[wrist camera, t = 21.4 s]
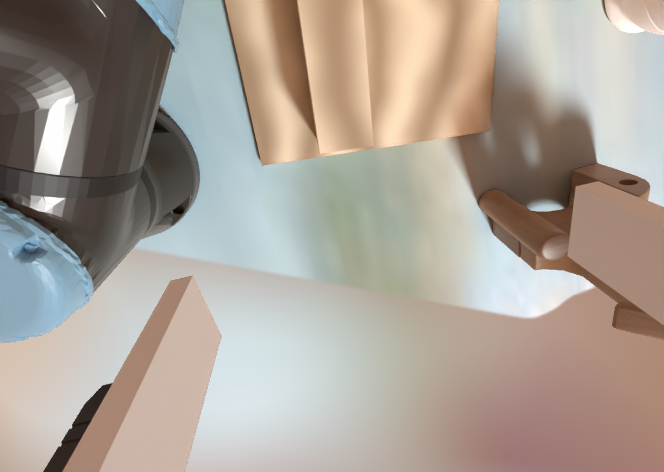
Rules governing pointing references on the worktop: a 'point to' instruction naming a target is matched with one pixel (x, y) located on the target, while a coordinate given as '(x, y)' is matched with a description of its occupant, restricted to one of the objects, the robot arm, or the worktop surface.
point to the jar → (636, 15)
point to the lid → (363, 72)
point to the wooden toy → (566, 238)
